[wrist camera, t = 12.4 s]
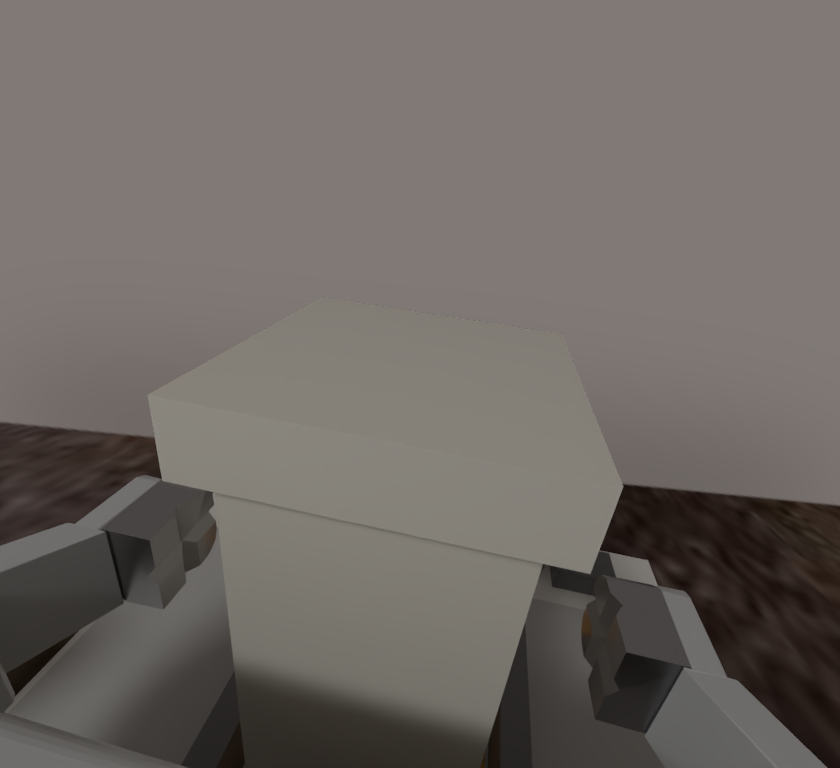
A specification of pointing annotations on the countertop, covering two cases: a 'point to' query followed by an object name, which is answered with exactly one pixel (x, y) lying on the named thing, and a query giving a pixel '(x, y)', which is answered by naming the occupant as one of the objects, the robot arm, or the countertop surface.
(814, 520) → the countertop surface
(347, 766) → the plug
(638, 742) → the board
